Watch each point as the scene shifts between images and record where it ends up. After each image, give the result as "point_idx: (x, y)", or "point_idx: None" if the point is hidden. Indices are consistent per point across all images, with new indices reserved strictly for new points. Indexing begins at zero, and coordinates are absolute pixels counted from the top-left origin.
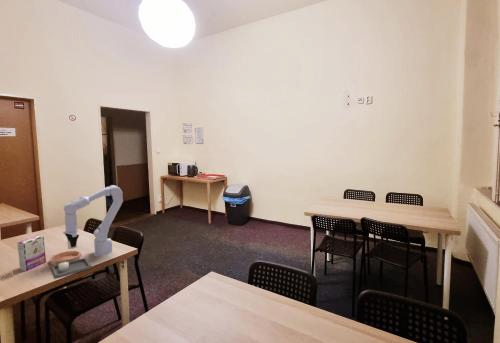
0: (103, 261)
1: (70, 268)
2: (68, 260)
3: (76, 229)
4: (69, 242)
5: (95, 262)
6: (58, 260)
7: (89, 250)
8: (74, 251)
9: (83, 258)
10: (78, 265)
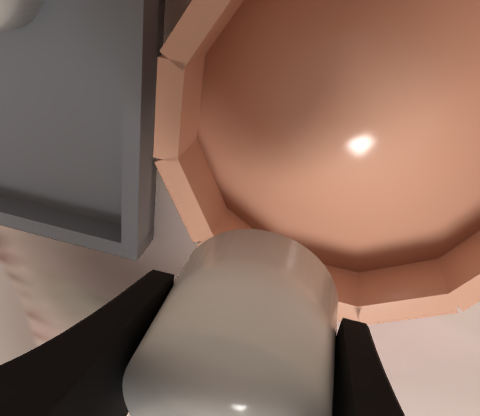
0: (30, 308)
1: (13, 48)
2: (161, 105)
3: None
4: (151, 338)
5: (51, 267)
6: (428, 45)
7: (426, 397)
8: (429, 292)
9: (127, 242)
10: (44, 140)
